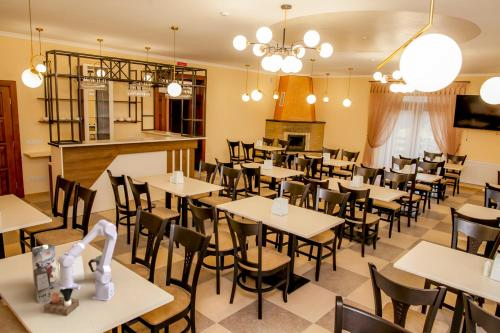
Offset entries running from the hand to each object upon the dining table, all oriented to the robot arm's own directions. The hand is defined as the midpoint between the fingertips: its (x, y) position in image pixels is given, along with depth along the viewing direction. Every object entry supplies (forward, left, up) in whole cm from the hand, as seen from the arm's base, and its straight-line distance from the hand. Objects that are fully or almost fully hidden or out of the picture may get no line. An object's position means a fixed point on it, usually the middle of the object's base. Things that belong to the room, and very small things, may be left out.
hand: (67, 300), depth 184 cm
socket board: (+3, 0, -5) cm, 6 cm away
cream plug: (0, 0, -5) cm, 5 cm away
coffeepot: (0, -32, -6) cm, 32 cm away
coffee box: (+21, -7, -6) cm, 23 cm away
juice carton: (+26, -16, -6) cm, 31 cm away
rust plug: (+7, 0, -2) cm, 7 cm away
